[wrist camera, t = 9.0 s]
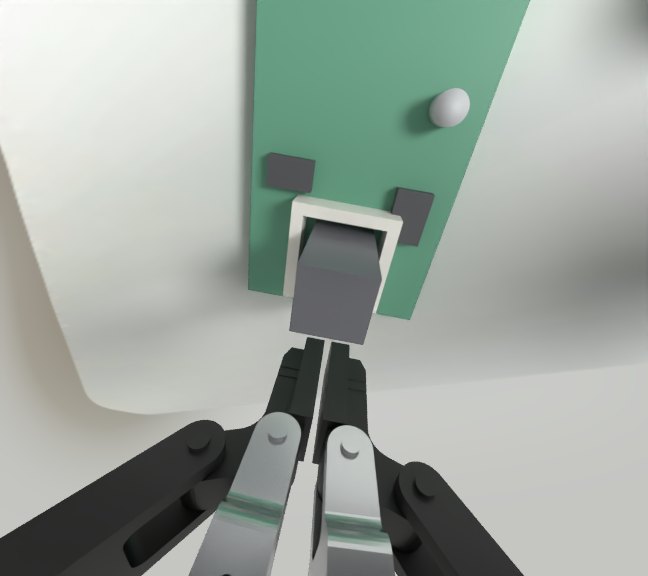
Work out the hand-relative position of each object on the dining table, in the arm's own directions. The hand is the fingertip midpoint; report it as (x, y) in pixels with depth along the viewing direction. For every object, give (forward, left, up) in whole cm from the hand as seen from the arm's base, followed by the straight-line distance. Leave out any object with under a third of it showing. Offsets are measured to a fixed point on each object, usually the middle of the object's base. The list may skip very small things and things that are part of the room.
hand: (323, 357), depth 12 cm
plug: (0, 0, -12) cm, 12 cm away
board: (0, -7, -13) cm, 15 cm away
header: (0, 0, -12) cm, 12 cm away
